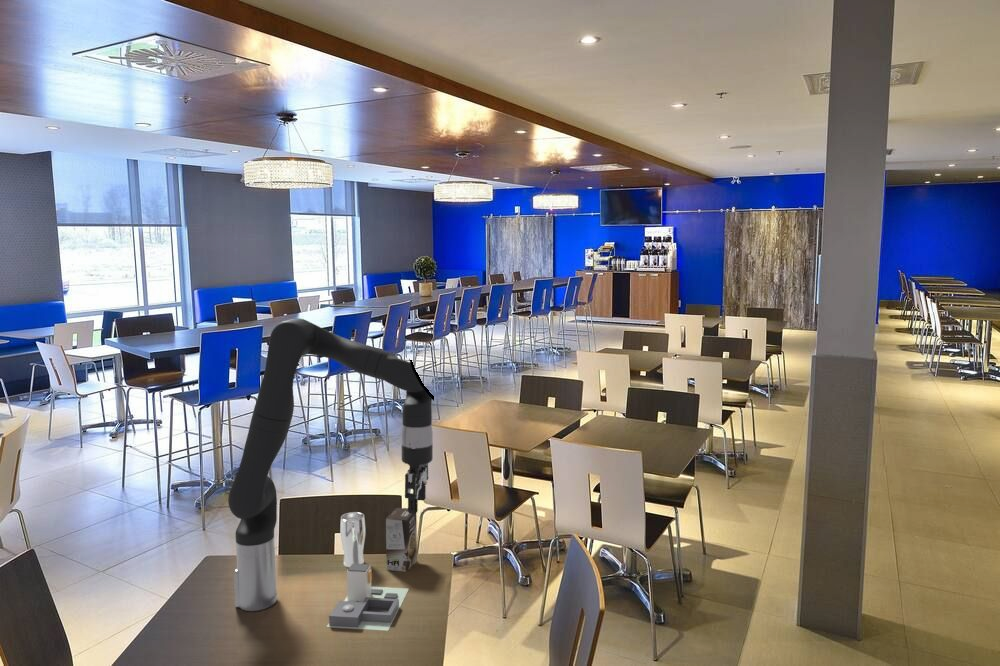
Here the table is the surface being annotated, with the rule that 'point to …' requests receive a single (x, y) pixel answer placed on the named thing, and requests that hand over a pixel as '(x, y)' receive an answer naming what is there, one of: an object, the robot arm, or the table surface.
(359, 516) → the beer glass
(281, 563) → the table surface
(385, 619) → the board
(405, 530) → the coffee box
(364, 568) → the plug
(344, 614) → the grey button block
